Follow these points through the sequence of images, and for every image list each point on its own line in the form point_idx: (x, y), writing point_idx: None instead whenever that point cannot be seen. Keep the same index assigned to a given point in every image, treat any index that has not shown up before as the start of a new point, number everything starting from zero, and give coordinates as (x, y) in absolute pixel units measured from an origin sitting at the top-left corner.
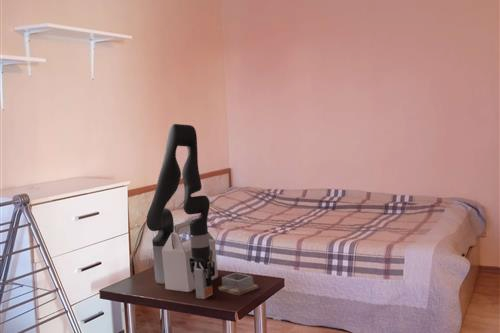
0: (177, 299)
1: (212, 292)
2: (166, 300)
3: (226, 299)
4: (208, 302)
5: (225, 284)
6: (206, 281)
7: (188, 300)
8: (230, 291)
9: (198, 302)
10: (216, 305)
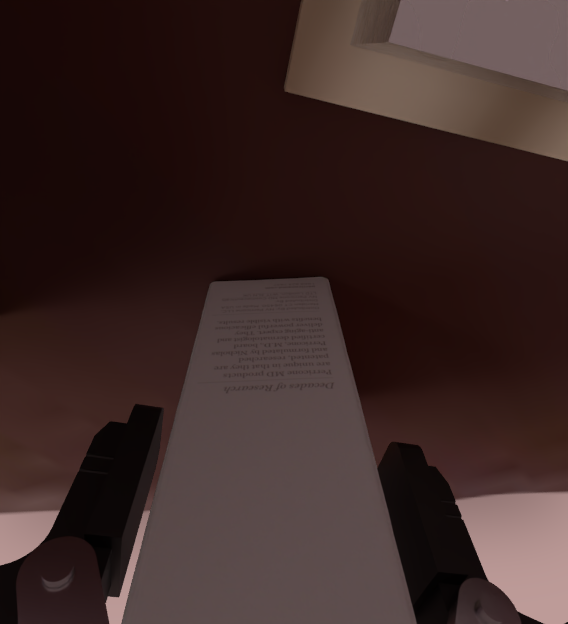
0: None
1: (329, 288)
2: (30, 511)
3: (560, 333)
4: (411, 437)
5: (454, 68)
6: None
7: None
8: (558, 158)
9: None
10: (516, 457)
